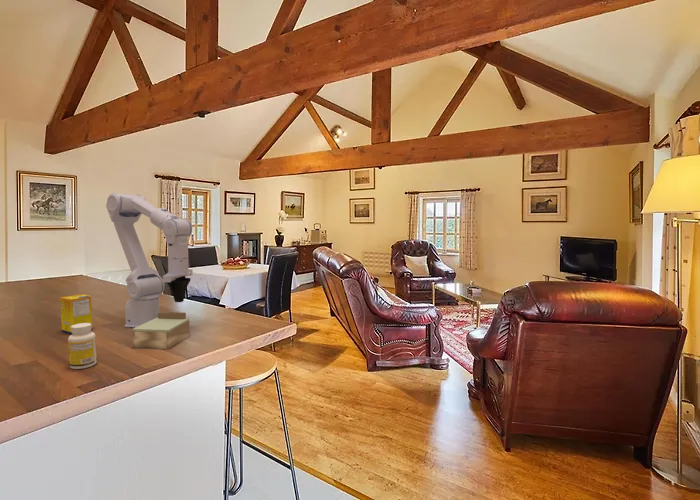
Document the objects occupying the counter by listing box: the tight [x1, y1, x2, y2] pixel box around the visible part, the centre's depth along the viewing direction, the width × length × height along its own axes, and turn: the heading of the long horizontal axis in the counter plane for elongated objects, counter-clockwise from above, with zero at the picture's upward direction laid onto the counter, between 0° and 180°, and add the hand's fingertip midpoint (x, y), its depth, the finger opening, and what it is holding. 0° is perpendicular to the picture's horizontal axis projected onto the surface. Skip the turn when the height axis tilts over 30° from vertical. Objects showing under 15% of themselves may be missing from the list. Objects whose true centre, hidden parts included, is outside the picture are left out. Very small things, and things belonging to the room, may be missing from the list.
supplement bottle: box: [67, 323, 98, 370], centre depth 92 cm, size 5×5×10 cm
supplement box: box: [59, 293, 94, 335], centre depth 119 cm, size 6×6×11 cm
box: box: [131, 320, 191, 350], centre depth 111 cm, size 10×12×4 cm
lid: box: [131, 311, 190, 332], centre depth 110 cm, size 10×12×2 cm
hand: (179, 301), depth 120 cm, fingers closed
